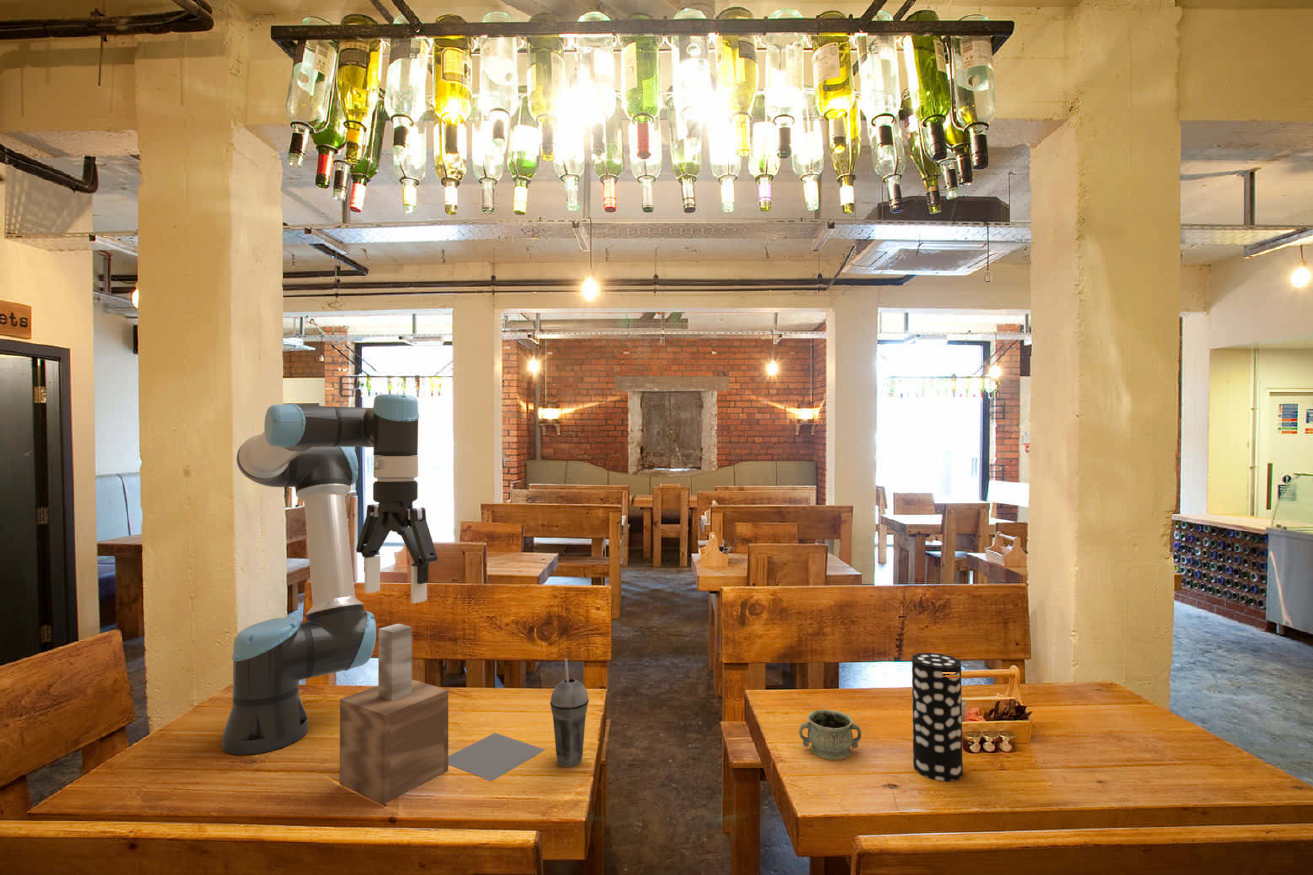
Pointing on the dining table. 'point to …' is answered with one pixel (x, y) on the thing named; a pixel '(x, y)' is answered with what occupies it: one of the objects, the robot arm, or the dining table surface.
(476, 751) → the mat
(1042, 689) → the dining table surface
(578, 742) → the beverage cup
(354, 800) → the dining table surface
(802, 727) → the vessel
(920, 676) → the white-spotted black cylinder
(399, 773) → the wooden block with peg
